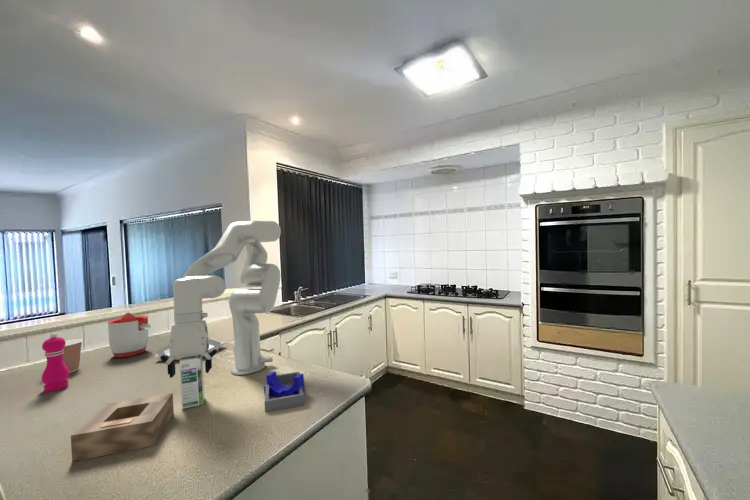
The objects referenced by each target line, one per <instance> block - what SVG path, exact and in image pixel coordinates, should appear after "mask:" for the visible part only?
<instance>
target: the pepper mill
mask: <svg viewBox="0 0 750 500" xmlns="http://www.w3.org/2000/svg"><path fill="white" fill-rule="evenodd" d="M65 341H66V340H65V339H64V338H63V337H60V336H58V334H57V333H55V332H54V333H51V334H50V336H49V338H48V339H46V340H44V341H43V342H42V345H41V349H42V350H43V351H44V357H45V358H46V366H45V368H44V370H43V373H42V374H41V382H42V383H43V384H45V385H44V386H43V391H44V392H54V391H58V390H62V389H65V388H67V387H68V386H69V380H68V378H69V376H70V374H71V373H69V369H68V368H67V366H66V365H65V363H64V361H63V353H64V349H63V347H64V346H65V344H66V342H65Z"/></svg>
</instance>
